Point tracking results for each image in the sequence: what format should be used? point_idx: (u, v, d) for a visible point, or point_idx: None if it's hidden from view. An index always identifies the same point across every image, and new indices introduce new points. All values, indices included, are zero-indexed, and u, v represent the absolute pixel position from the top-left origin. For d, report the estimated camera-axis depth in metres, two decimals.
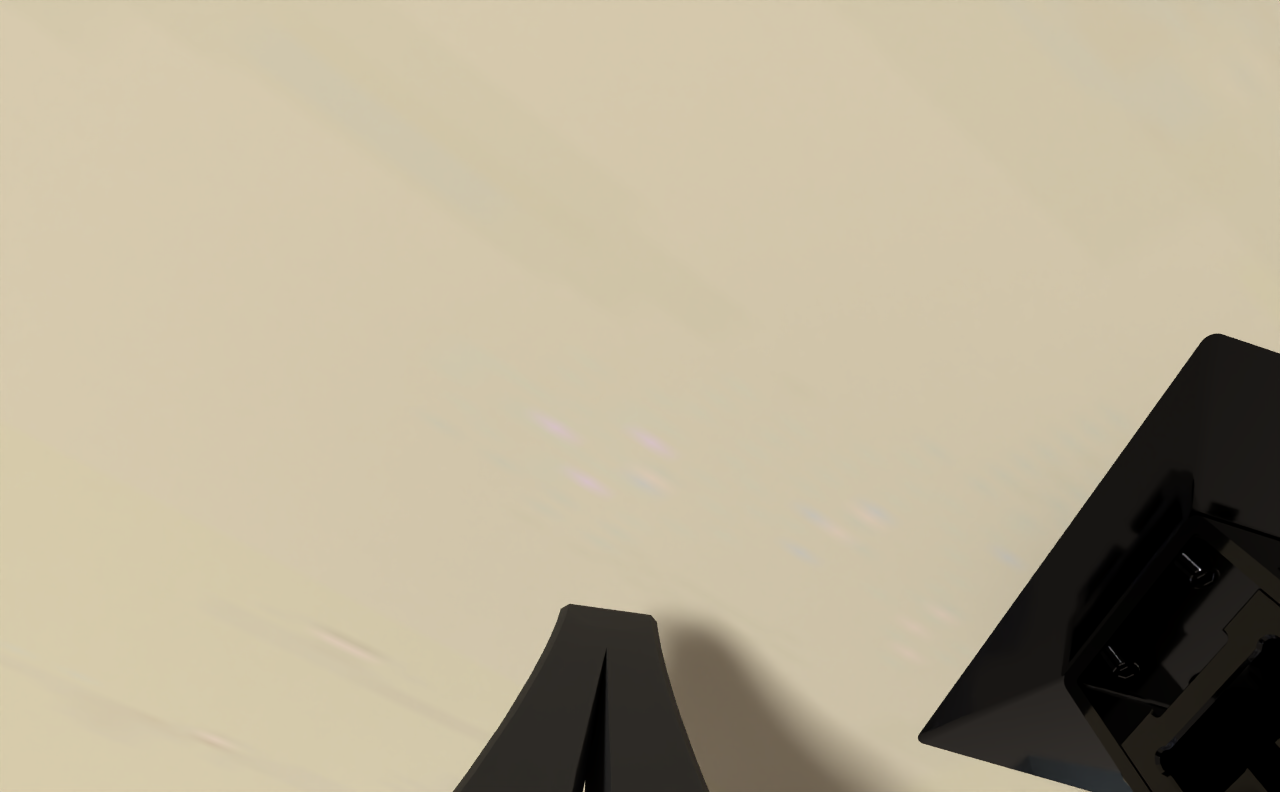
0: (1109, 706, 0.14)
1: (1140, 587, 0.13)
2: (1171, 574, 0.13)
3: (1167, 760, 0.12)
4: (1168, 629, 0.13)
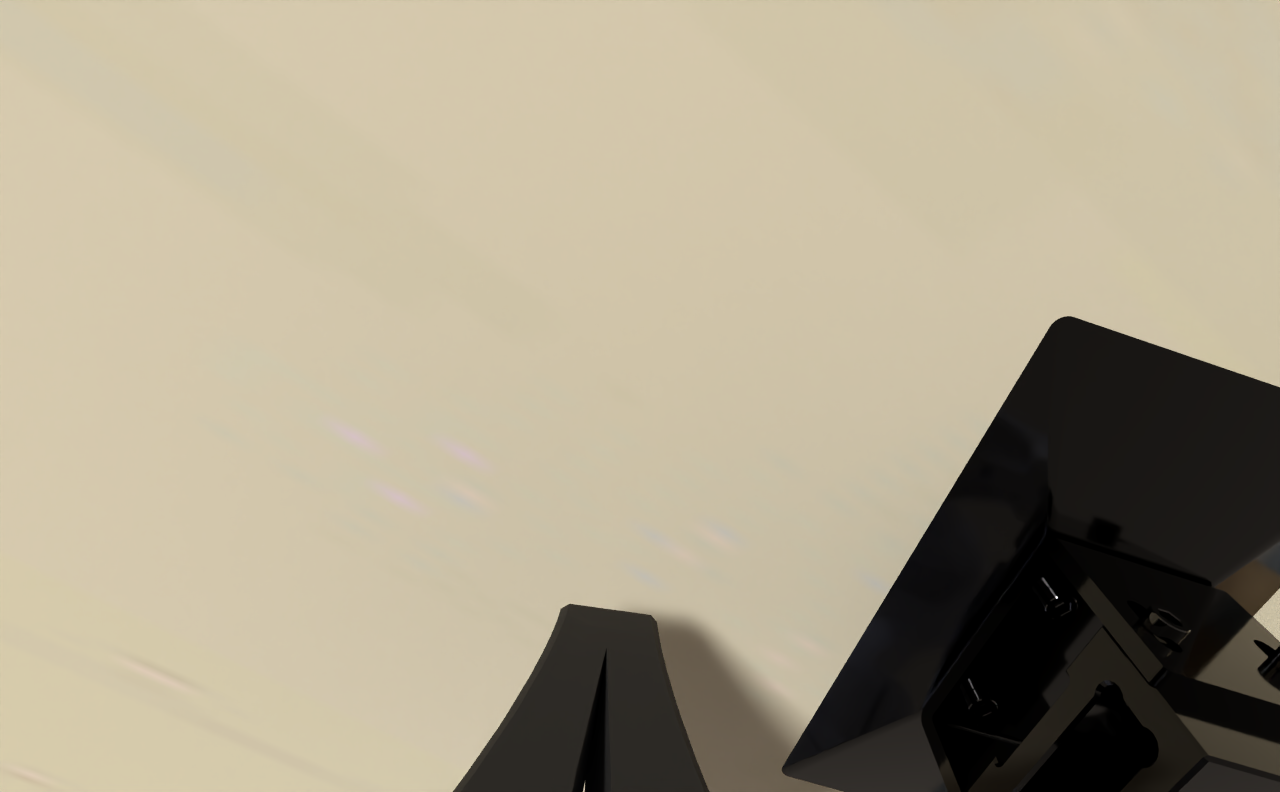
0: (964, 747, 0.12)
1: (996, 616, 0.12)
2: (1027, 602, 0.11)
3: None
4: (1029, 662, 0.12)
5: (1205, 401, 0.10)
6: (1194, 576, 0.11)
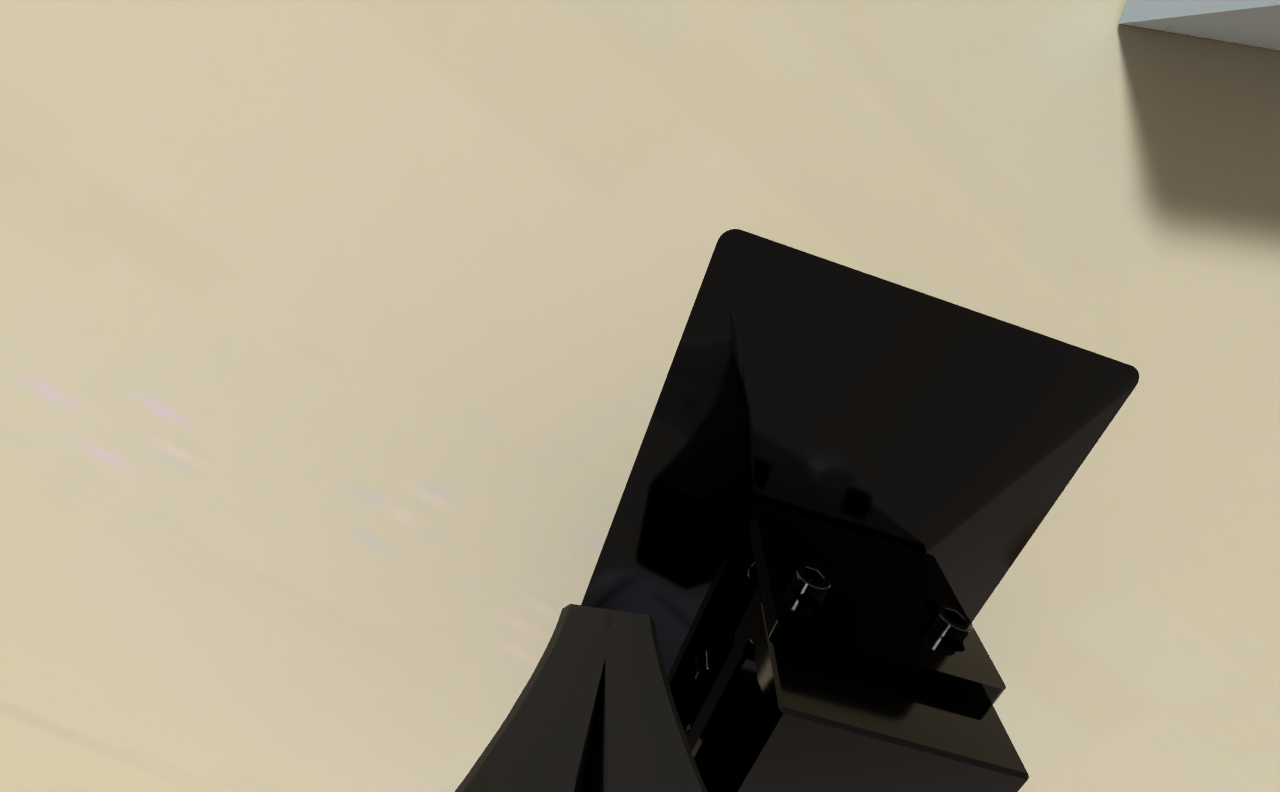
0: (692, 718, 0.12)
1: (713, 583, 0.12)
2: (736, 568, 0.11)
3: None
4: None
5: (890, 360, 0.10)
6: (905, 541, 0.11)
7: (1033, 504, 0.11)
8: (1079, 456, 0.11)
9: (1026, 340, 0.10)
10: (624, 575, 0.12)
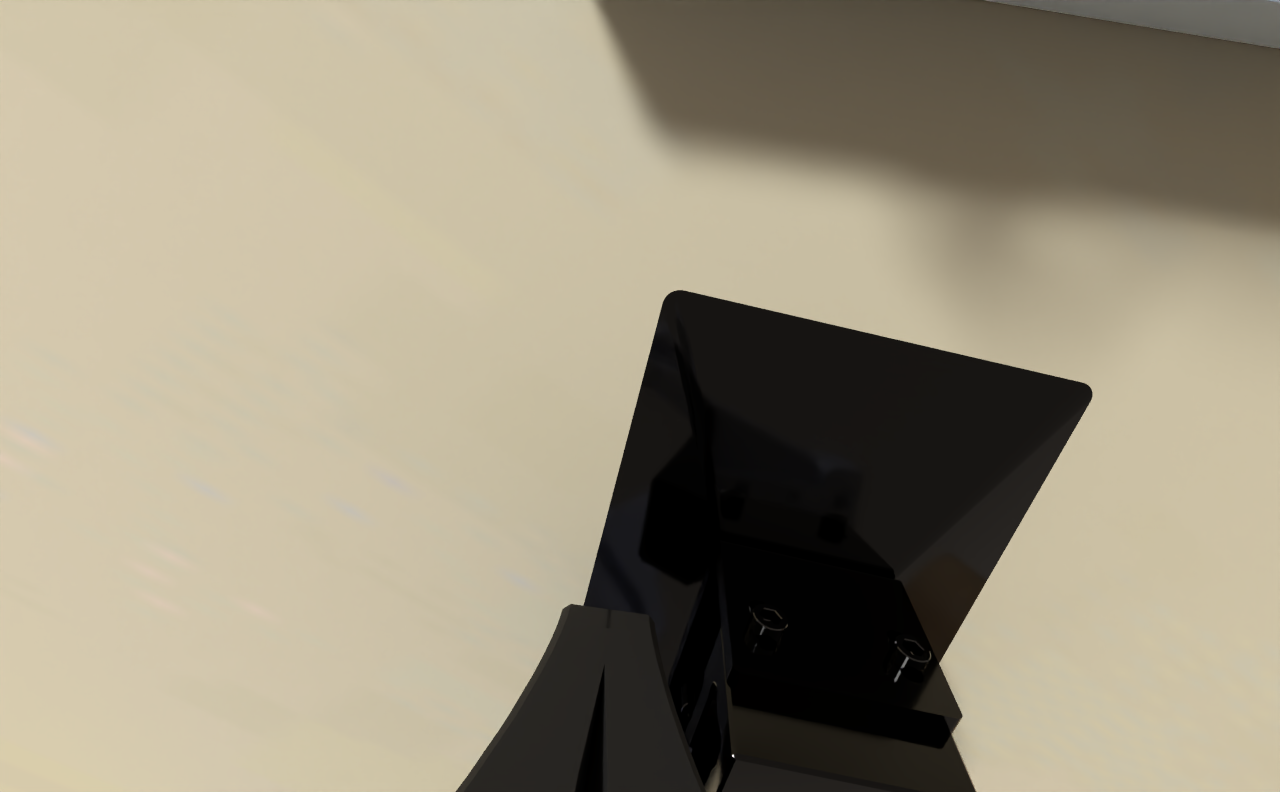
0: None
1: (690, 619, 0.12)
2: (709, 605, 0.12)
3: None
4: None
5: (840, 397, 0.11)
6: (873, 568, 0.11)
7: (999, 524, 0.11)
8: (1039, 475, 0.11)
9: (973, 368, 0.10)
10: None
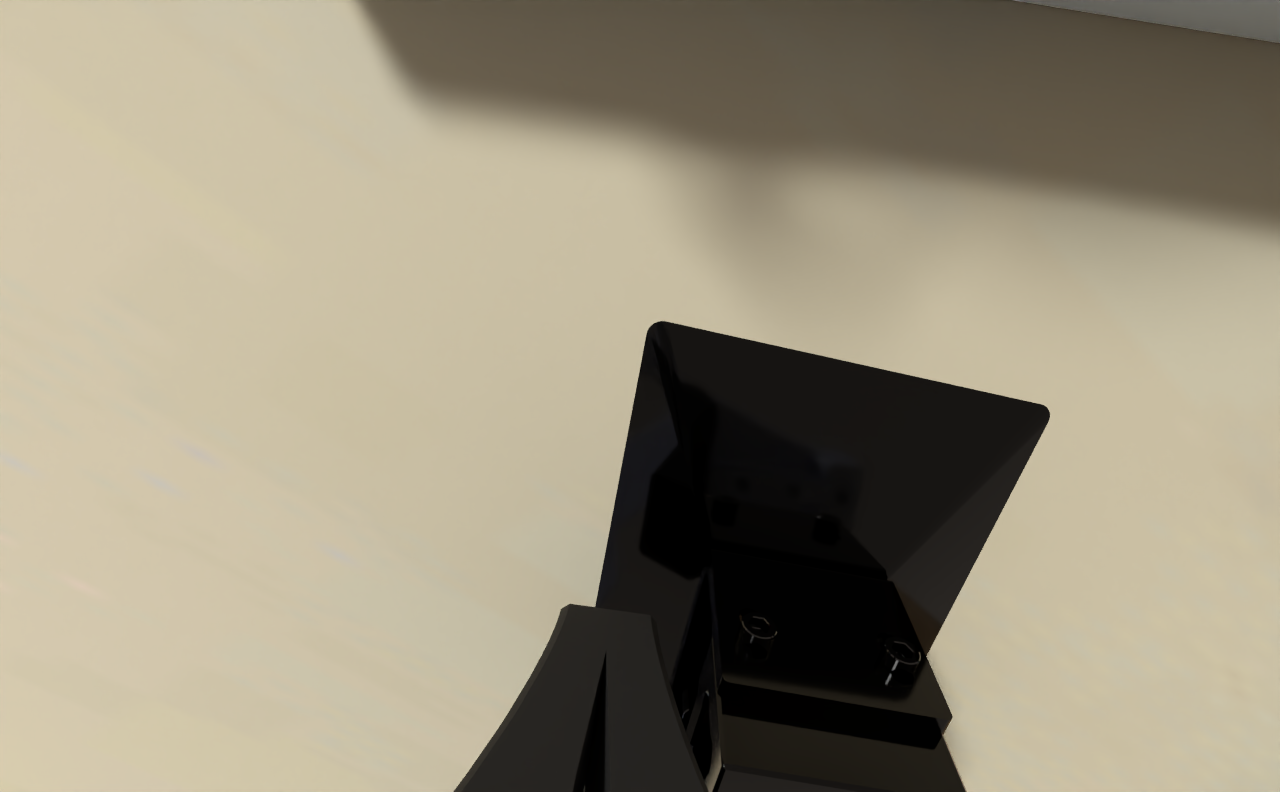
0: None
1: (686, 627, 0.12)
2: (704, 612, 0.12)
3: None
4: None
5: (823, 403, 0.11)
6: (865, 570, 0.12)
7: (989, 521, 0.12)
8: None
9: None
10: None
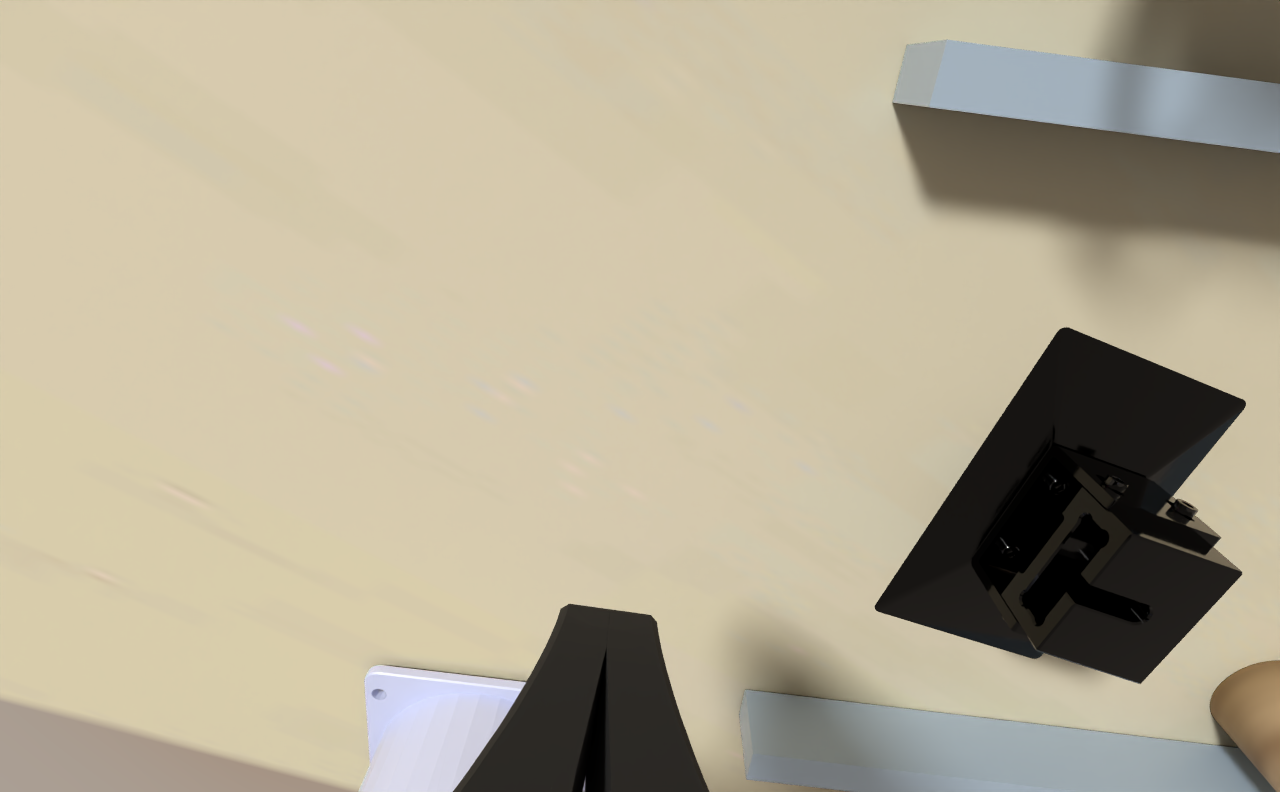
0: (998, 576, 0.20)
1: (1020, 495, 0.20)
2: (1039, 485, 0.19)
3: (1026, 599, 0.18)
4: (1038, 524, 0.20)
5: (1142, 368, 0.19)
6: (1135, 472, 0.19)
7: None
8: None
9: None
10: (957, 491, 0.20)
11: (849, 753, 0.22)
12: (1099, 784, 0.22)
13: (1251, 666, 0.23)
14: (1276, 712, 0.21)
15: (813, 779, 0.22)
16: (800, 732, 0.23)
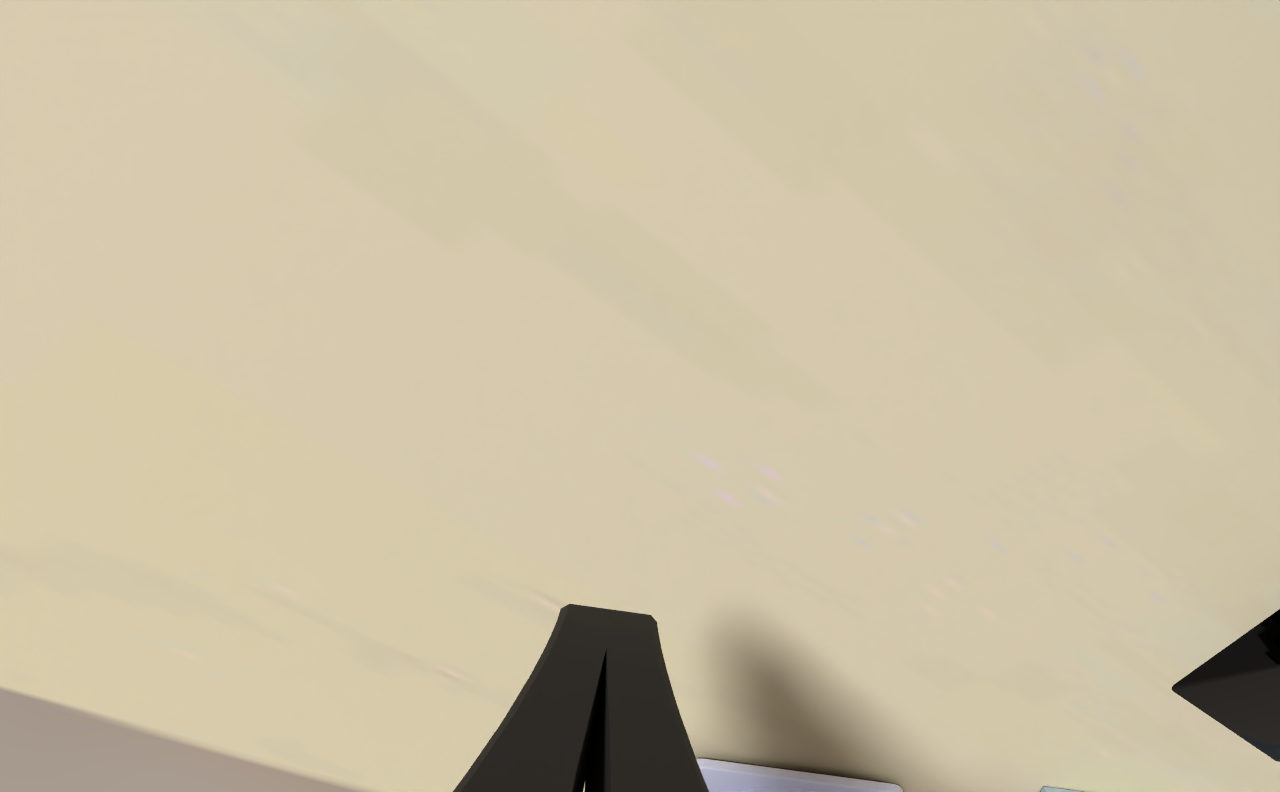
0: None
1: None
2: None
3: None
4: None
5: None
6: None
7: None
8: None
9: None
10: None
11: None
12: None
13: None
14: None
15: None
16: None
